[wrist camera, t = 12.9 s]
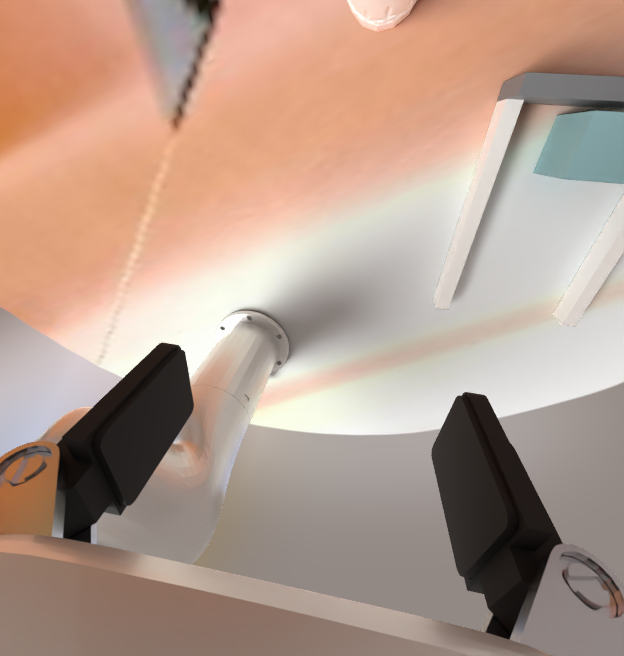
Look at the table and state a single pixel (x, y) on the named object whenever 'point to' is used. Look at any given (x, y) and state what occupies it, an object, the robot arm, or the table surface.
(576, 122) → the block
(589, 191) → the table surface
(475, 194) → the guide channel
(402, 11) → the white cup
